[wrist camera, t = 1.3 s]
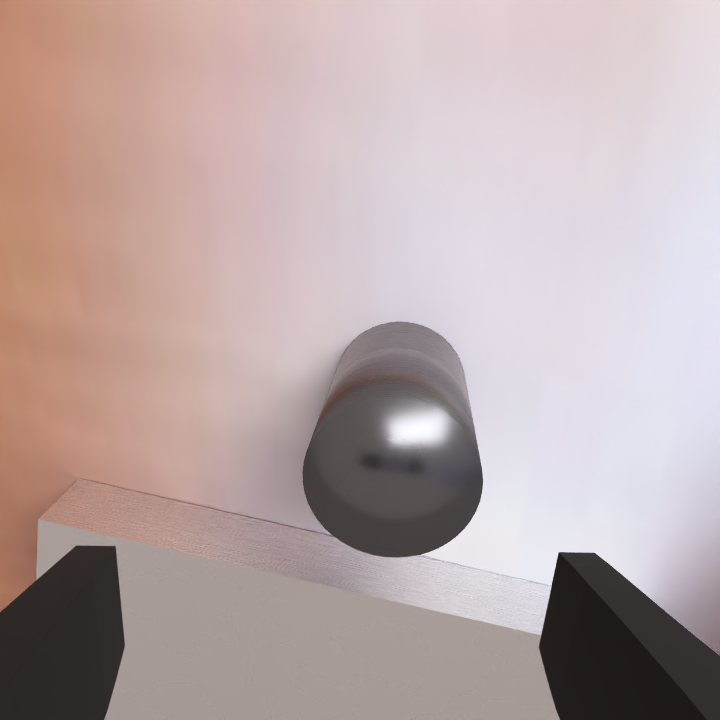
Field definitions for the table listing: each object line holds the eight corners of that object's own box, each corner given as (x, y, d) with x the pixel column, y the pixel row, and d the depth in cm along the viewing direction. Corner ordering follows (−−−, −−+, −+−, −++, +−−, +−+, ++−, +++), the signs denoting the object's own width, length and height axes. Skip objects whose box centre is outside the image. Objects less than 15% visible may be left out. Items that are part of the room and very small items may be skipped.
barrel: (479, 337, 19) (504, 421, 13) (447, 453, 20) (457, 574, 15) (349, 309, 19) (319, 380, 13) (325, 426, 20) (289, 535, 15)
